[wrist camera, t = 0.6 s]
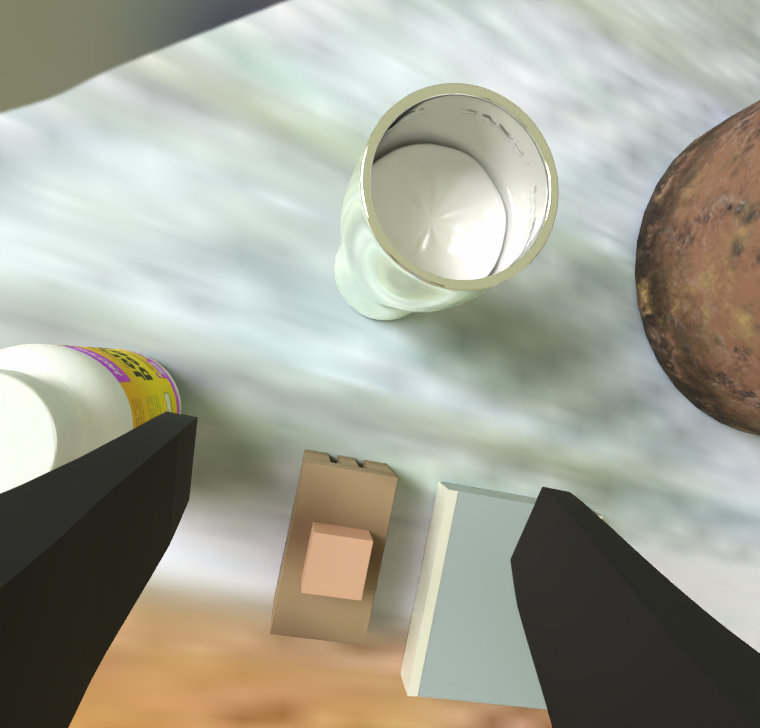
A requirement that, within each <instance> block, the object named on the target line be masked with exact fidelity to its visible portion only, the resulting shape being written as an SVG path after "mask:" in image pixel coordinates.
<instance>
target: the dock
mask: <svg viewBox="0 0 760 728" xmlns="http://www.w3.org/2000/svg"><path fill="white" fill-rule="evenodd" d="M536 500H537V498H531V497H525V496H520V495H514V494H508V493H502V492H497V491H491V490H485V489H480V488H474V487H468V486H462V485H457V484H451V483H445V482H439V483H438V488H437V493H436V498H435V503H434V508H433V513H432V518H431V523H430V528H429V533H428V538H427V543H426V548H425V553H424V558H423V563H422V568H421V573H420V578H419V583H418V588H417V593H416V598H415V603H414V608H413V613H412V618H411V623H410V628H409V633H408V638H407V643H406V648H405V653H404V658H403V663H402V668H401V673H400V674H401V677H402V680H403V683H404V686H405V690H406V693H407V696H421V697H431V698H440V699H450V700H460V701H470V702H479V703H489V704H499V705H508V706H518V707H528V708H537V709H547V707H546V703H545V700H544V697H543V693H542V690H541V686H540V683H539V680H538V676H537V673H536V670H535V666H534V663H533V659H532V656H531V653H530V649H529V646H528V643H527V639H526V636H525V632H524V629H523V625H522V622H521V618H520V614H519V611H518V607H517V602H516V596H515V590H514V584H513V576H512V569H511V562H510V559H511V556H512V554H513V552H514V550H515V547H516V545H517V543H518V541H519V538H520V536H521V534H522V532H523V529H524V527H525V525H526V523H527V520H528V518H529V516H530V514H531V511H532V509H533V507H534V505H535V502H536ZM593 512H594V511H593ZM594 513H595V512H594ZM595 514H597V513H595ZM597 515H598V516H599V517H600V518H601V519H602V518H603V516H601V515H599V514H597Z"/></svg>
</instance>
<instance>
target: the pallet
mask: <svg viewBox="0 0 760 728" xmlns="http://www.w3.org/2000/svg"><path fill="white" fill-rule="evenodd" d="M397 481H398V477H397V476H396V475H395V474H394V473H393V472H392V470H391V469H390V468H389V467H388V466H387V464H385V463H379V462H374V461H368V460H364V461H363V465H362V468H361V467H359V466H358V464H357V462H356V461H355V459H354V458H351V457H345V456H340V455H338V457H337V462H336V463H332V462H331V461H330V458H329V455H328V453H323V452H317V451H311V450H306V449H305V452H304V457H303V461H302V466H301V471H300V476H299V481H298V486H297V490H296V495H295V500H294V505H293V510H292V514H291V519H290V524H289V529H288V534H287V539H286V543H285V548H284V553H283V558H282V563H281V568H280V572H279V577H278V582H277V587H276V592H275V597H274V603H273V613H272V622H271V631H270V634H274V635H283V636H291V637H300V638H308V639H317V640H325V641H334V642H342V643H351V644H359V645H365V640H366V635H367V630H368V625H369V620H370V615H371V610H372V605H373V600H374V595H375V590H376V585H377V580H378V575H379V570H380V565H381V560H382V555H383V550H384V545H385V541H386V536H387V531H388V526H389V521H390V516H391V511H392V506H393V501H394V496H395V491H396V486H397ZM313 522H317V523H323V524H330V525H336V526H343V527H349V528H355V529H362V530H368V531H369V532H370V535H371V537H372V540H373V544H372V549H371V554H370V559H369V564H368V569H367V574H366V579H365V584H364V589H363V594H362V599H361V601H359V600H352V599H344V598H337V597H329V596H321V595H314V594H306V593H301V578H302V573H303V568H304V563H305V559H306V554H307V549H308V544H309V539H310V534H311V529H312V525H313Z"/></svg>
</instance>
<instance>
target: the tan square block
mask: <svg viewBox="0 0 760 728" xmlns="http://www.w3.org/2000/svg"><path fill="white" fill-rule="evenodd" d="M372 544H373V540H372V537H371V535H370V532H369V531H368V530H362V529H355V528H349V527H343V526H336V525H330V524H323V523H317V522H313V525H312V529H311V534H310V539H309V544H308V549H307V554H306V559H305V563H304V568H303V573H302V578H301V593H306V594H314V595H321V596H329V597H337V598H344V599H352V600H359V601H361V599H362V594H363V589H364V584H365V579H366V574H367V569H368V564H369V559H370V554H371V549H372Z"/></svg>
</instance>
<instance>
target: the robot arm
mask: <svg viewBox="0 0 760 728" xmlns="http://www.w3.org/2000/svg"><path fill="white" fill-rule="evenodd" d="M196 427H197V417H192V416H187V415H182V414H177V413H172V412H167V411H166V412H164V413H162V414H160V415H158V416H156V417H154V418H152V419H151V420H149V421H147V422H145V423H143V424H141V425H140V426H138V427H136V428H134V429H132V430H130V431H129V432H127V433H125V434H123V435H121V436H119V437H118V438H116V439H114V440H112V441H110V442H108V443H106V444H104V445H102V446H100V447H99V448H97V449H95V450H93V451H91V452H89V453H87V454H85V455H83V456H81V457H79V458H77V459H75V460H73V461H71V462H69V463H67V464H65V465H62V466H60V467H58V468H56V469H54V470H52V471H50V472H47V473H45V474H43V475H41V476H39V477H37V478H35V479H33V480H30V481H28V482H26V483H24V484H22V485H19V486H17V487H15V488H12V489H10V490H8V491H5V492H3V493H1V494H0V728H68V727H69V725H70V723H71V721H72V719H73V717H74V715H75V713H76V710H77V708H78V706H79V704H80V702H81V700H82V698H83V696H84V694H85V692H86V690H87V687H88V685H89V683H90V681H91V679H92V677H93V676H94V674H95V672H96V670H97V668H98V666H99V665H100V663H101V661H102V659H103V657H104V655H105V653H106V652H107V650H108V648H109V647H110V645H111V643H112V642H113V640H114V638H115V637H116V635H117V633H118V631H119V630H120V628H121V626H122V625H123V623H124V621H125V620H126V618H127V616H128V615H129V613H130V611H131V610H132V608H133V606H134V604H135V603H136V601H137V599H138V598H139V596H140V594H141V593H142V591H143V589H144V588H145V586H146V584H147V583H148V581H149V579H150V577H151V576H152V574H153V572H154V571H155V569H156V567H157V566H158V564H159V562H160V560H161V559H162V557H163V555H164V553H165V552H166V550H167V548H168V546H169V545H170V542H171V540H172V538H173V536H174V534H175V531H176V529H177V527H178V525H179V522H180V520H181V518H182V515H183V513H184V510H185V508H186V506H187V503H188V501H189V495H190V485H191V476H192V466H193V456H194V446H195V437H196ZM510 562H511V569H512V576H513V584H514V590H515V596H516V602H517V607H518V611H519V614H520V618H521V622H522V625H523V629H524V632H525V636H526V639H527V643H528V646H529V649H530V653H531V656H532V659H533V663H534V666H535V670H536V673H537V676H538V680H539V683H540V686H541V690H542V693H543V697H544V700H545V703H546V707H547V710H548V713H549V717H550V720H551V724H552V728H760V653H758V652H757V651H756V650H754V649H753V648H752V647H750V646H749V645H748V644H746V643H745V642H744V641H742V640H741V639H740V638H739V637H737V636H736V635H735V634H733V633H732V632H731V631H729V630H728V629H727V628H726V627H724V626H723V625H722V624H720V623H719V622H718V621H717V620H715V619H714V618H713V617H712V616H710V615H709V614H708V613H707V612H706V611H704V610H703V609H702V608H701V607H700V606H699V605H697V604H696V603H695V602H694V601H693V600H691V599H690V598H689V597H688V596H687V595H685V594H684V593H683V592H682V591H681V590H680V589H678V588H677V587H676V586H675V585H674V584H673V583H671V582H670V581H669V580H668V579H667V578H666V577H665V576H664V575H662V574H661V573H660V572H659V571H658V570H657V569H656V568H655V567H653V566H652V565H651V564H650V563H649V562H648V561H647V560H646V559H645V558H643V557H642V556H641V555H640V554H639V553H638V552H637V551H636V550H635V549H634V548H633V547H631V546H630V545H629V544H628V543H627V542H626V541H625V540H624V539H623V538H622V537H621V536H620V535H618V534H617V533H616V532H615V531H614V530H613V529H612V528H611V527H610V526H609V525H608V524H607V523H605V522H604V521H603V520H602V519H601V518H600V517H599V516H598V515H597V514H595V513H594V512H593V511H592V510H591V509H590V508H589V507H588V506H586V505H585V504H584V503H583V502H582V501H581V500H579V499H578V498H577V497H575V496H574V495H573V494H572V493H570V492H566V491H561V490H556V489H551V488H546V487H542V489H541V491H540V493H539V496H538V498H537V500H536V502H535V505H534V507H533V509H532V511H531V514H530V516H529V518H528V520H527V523H526V525H525V527H524V529H523V532H522V534H521V536H520V538H519V541H518V543H517V545H516V547H515V550H514V552H513V554H512V556H511V559H510Z"/></svg>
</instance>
